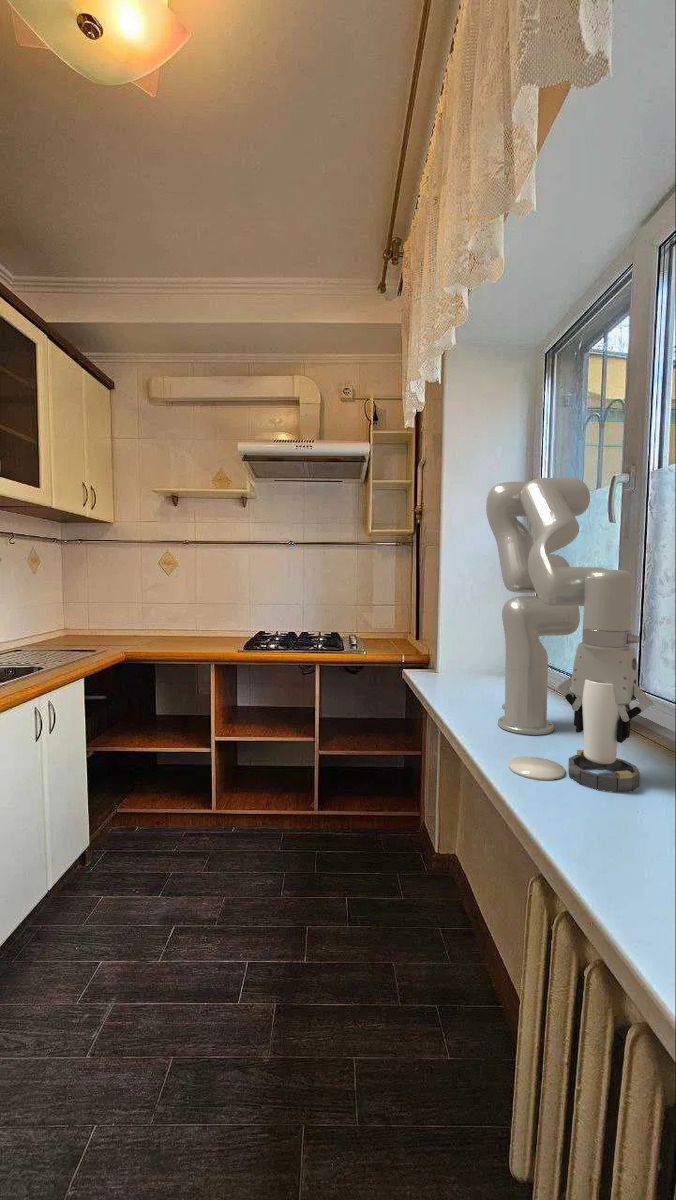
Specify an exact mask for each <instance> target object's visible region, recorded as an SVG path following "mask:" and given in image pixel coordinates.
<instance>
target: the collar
mask: <svg viewBox="0 0 676 1200" xmlns="http://www.w3.org/2000/svg"><path fill="white" fill-rule="evenodd" d="M567 765H568V766H567V769H568V771H567V773H568V777H569V779H571V780H572V779H573V780H572V781H574V782H575V781H576V783H577V784H578V783H579V784H578V785H581V786H584V787H587V788H590V789H592V788H593V790H595V789H596V791H600V790H605V791H604V792H607V791H612V792H611V793H614V792H621V793H630V792H629V791H632V792H634V791H636V790H637V789H638V788H640V781H641V779H640V778H641V773H640V770H639V768H638V766H637V765H635V764H633V763H631V762H629V761H627V760H625V759H623V758H618V757H616V761H615V762H614V763H612V764H599V763H595V762H592V761H590V760H588V759H586V758H585V756H584V749H576V754H574V755H572V756H570V757H569V758H568V764H567ZM596 768H598V769H597V770H604V769H606V771H609V772H613V773H614V776H613V775H605V774H597V773H595V772H592V771H590V770H589V771H588V770H585V769H596ZM597 789H598V790H597Z"/></svg>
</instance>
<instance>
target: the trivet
mask: <svg viewBox="0 0 676 1200" xmlns="http://www.w3.org/2000/svg"><path fill="white" fill-rule="evenodd" d="M508 769H509V771H511V772H512V773H513V774H515V775H517V774H518V775H517V776H520V777H522V776H523V778H527V779H530V778H531V779H530V780H535V779H538V781H555V780H554V779H557V780H560V779H563V778H564V777H565V775H566V768H565V767H564V766H563V765H562V764H561V763H559V762H556V761H553V760H551V759H548V758H543V757H538V756H518V757H515V758H511V759H510V760H509V761H508ZM563 776H564V777H563ZM559 778H560V779H559Z"/></svg>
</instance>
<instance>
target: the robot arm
mask: <svg viewBox="0 0 676 1200" xmlns="http://www.w3.org/2000/svg"><path fill="white" fill-rule="evenodd" d="M590 502H591V492H590V489H589V487H588V486H587V484H586V483H585V482H584V481H583V480H581V479H579V478H576V477H575V478H574V477H540V478H539V477H538V478H535V479H532V480H530V481H506V482H501V483H497V484H495V485H494V486H493V487H491V488H490V490H489V491H488V494H487V497H486V507H485V508H486V517H487V521H488V524H489V527H490V530H491V532H492V534H493V536H494V539H495V541H496V545H497V552H498V559H499V564H500V565H499V566H500V571H501V577H502V581H503V585H504V588H505V589H506V590H507V591H509V592H512V593H518V594H520V593H521V594H534V593H535V594H536V595H520V596H515V597H512V598H510V599H508V600H507V601H506V602H505V603H504V605H503V606H502V610H501V617H502V625H503V633H504V639H505V640H504V641H505V644H504V645H505V674H504V675H505V682H504V685H505V686H504V703H503V704H502V705H501V709H502V710H504V715H503V716H501V717H499V718H498V720H497V725H498V726H499V727H500V728H501V729H503V730H505V731H508V732H510V733H511V732H512V733H515V734H520V735H529V736H534V735H535V736H537V735H538V736H539V735H546V734H551V733H552V732H554V729H555V725H554V723H552V722H551V721H550V720H548V719H547V718H548V716H547V715H548V684H549V683H548V681H549V679H548V678H549V676H548V675H549V674H548V673H549V655H548V652H547V650H546V648H545V646H544V645H543V644H542V642H541V641H540V639H539V637H547V636H548V637H550V636H553V637H554V636H569V635H572V634H574V633H575V632H576V631H577V630H578V628H579V626H580V623H581V622H580V621H581V613H580V607H583V615H582V617H583V618H582V642H580V643H578V645H577V649H576V653H575V657H574V660H573V661H574V662H573V667H572V674H571V676H570V677H569V678H568V679H566V680H564V681H563V682H561V683H560V684H559V685H558V687H557V688H558V690H559V691H560V693H561V694H562V695H563V696H564V697H565V700H566V701H567V702H568V704H569V705H570V706H571V709H572V710H573V711H574V714H573V715H574V716H573V726H575V733H582V732H583V713H582V697H583V691H584V685H585V680H589V681H593V682H598V683H605V684H613V688H614V695H615V703H616V704H617V705H618V707H619V708H618V711H619V714H620V716H621V717H620V720H618V727H617V741H618V744H619V743H620V744H622V743H624V742H625V741H626V740H627V739H629V738H630V736H631V735H630V734H631V721H632V719H633V718H635V717H636V716H639V715H640V714H642V712H644V711H646V710H647V709H649V708H650V707H651V706H653V704H654V702H653V700H652V699H651V698H650V697H649V696H648V695H647V694H646V693H645V691H643V690H642V689H641V688H640V687H639V680H638V677H639V675H638V661H637V660H638V659H637V654H636V649H635V647H632V646H631V645H632V644H639V643H640V636H639V635H636V634H634V633H632V630H631V623H632V605H633V589H634V588H633V587H634V578H633V575H632V573H631V571H628V570H624V569H607V568H604V567H600V566H599V567H597V566H595V567H594V566H593V567H591V566H570V564H569V561H567V559H566V558H564V557H563V556H561V555H560V554H559V555H558V554H555V553H553V552H556V551H559V550H561V549H562V548H565V547H567V546H568V545H569V544H571V543H572V542H573V541H575V539H576V538H577V536H578V535H579V533H580V524H579V521H578V520H577V518H576V517H579V516H581V515H583V514H584V513H585V512H586V511H587V510H588V508H589V506H590ZM518 517H527V520H528V521H529V524H530V527H531V528H532V531H533V533H534V535H535V537H536V539H535V541H534V539H533V536H532V533H531V532H530V530H529V529H528V528H527V526H525V524H524V523H522V522H521V521H520V520H519V519H518ZM552 553H553V554H552ZM636 700H638V702H639V704H638V705H636V706H635V707H633V708H632V707H631V702H632V701H636Z"/></svg>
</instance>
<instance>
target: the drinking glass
mask: <svg viewBox="0 0 676 1200" xmlns="http://www.w3.org/2000/svg"><path fill="white" fill-rule="evenodd" d="M618 708H619V707H618V705H617V704H616V703H615V695H614V688H613V684H605V683H598V682H593V681H589V680H585V685H584V691H583V697H582V713H583V731H582V732H583V750H584V756H585V758H586V759H588V760H590V761H592V762H595V763H599V764H612V763H614V762H615V761H616V758H617V757H618V756H617V755H618V752H617V750H618V745H619V742H618V741H617V727H618V720H620V717H621V716H620V714H619V711H618Z"/></svg>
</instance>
